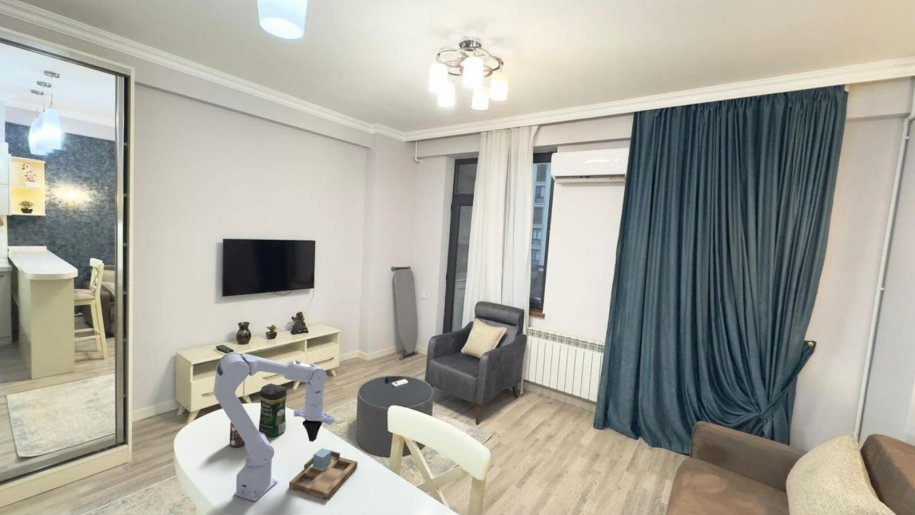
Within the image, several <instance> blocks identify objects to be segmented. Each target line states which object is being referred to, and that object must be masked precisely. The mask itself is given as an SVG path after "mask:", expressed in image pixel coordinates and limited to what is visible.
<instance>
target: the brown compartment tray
mask: <svg viewBox="0 0 915 515" xmlns="http://www.w3.org/2000/svg"><path fill="white" fill-rule="evenodd" d="M327 450H328V451H331V463H330V464H328V465H327V466H326V467H325V468H323V469H321V468H318V467H316V466H313V457H311V458H310V459H309V460H308V461H306V462H305V464H303V469H302V471H300V472H299V473H298V474H297V475H296V476H294V477H293V478H292V479H291V480H289V482H288V484H289V485H288V486H289V487H288V489H290V490H294V491H296V492H300V493H304V494H306V495H310V496H313V497H316V498H320V499H324V500H327V501H328V500H329V499H330V498H331V496H332V495H334V493H335V492H337V491H338V489H339V488H340V487H341V486H342V485H343V484H344V483H345V481H346V480H348V478H349V477H350V476H351V475H352V474H353V473H354V471H355V470H356V469H357V468H358V464H359V463H358V461H356V460H352V459H349V458H345V457H341V452H338V451H334V450H331V449H330V450H329V449H327ZM338 466H339V467H343V468H345V469H344V470H342V469H338V468H337V467H338ZM346 467H347V468H346ZM352 472H353V473H352ZM304 480H308V481H310V482H309V483H308V484H305V483H303V482H304Z"/></svg>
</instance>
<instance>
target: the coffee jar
mask: <svg viewBox="0 0 915 515" xmlns="http://www.w3.org/2000/svg"><path fill="white" fill-rule="evenodd" d="M287 390H288V389H287V387H285V386H282V385H278V384H275V383H271V382H270V383H268V384H266V385H263V386H261V388H260V392H259V400H260V412H259V414H260V415H259V422H258V431H259V432H261V433H263V434H265V436H266V437H270V438H271V437H276V436H277V437H278V436H279V435H281V434H283V433H284V432H285V431H286V429H287V426H286V425H287V423H286V422H287V420H286V418H287V417H286V401H287V397H288V392H287Z"/></svg>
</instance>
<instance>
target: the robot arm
mask: <svg viewBox="0 0 915 515" xmlns="http://www.w3.org/2000/svg"><path fill="white" fill-rule="evenodd" d="M258 372H262V373H263V372H264V373H270V374H277V375H283V377H284V379H285V380H290V381H295V382H300V383H305V397H304V399H305V401H304V409H303V408H297V409H294V411H293V417H300V418H303V419H304V420H303V421H302V426H303V427H304V428H305V431H306V434H307V437H308V441H309V442H311V443H312V442H315V441H316V440H317V436H318V435H319V434H318V433H319V431H320V429H321V426H322V424H323V423H324V424H325V423H326V424H327V425H328V426H331V425H332V424H334V423H335V416H332V415H330V414H328V413H326V412H325V411H324V394H325V393H324V391H325V383H326V382H327V380H328V375H327V372H326V371H325V370H324V369H323V368H322V367H321V366H320V365H318V364H316V363H313V362H311V363H303V362H302V361H301V360H299V359H295V361H294V360H289V361H287V363H284V362H280V361H276V360H272V359H268V358H264V357H260V356H256V355H253V354H249V353H243V352H242V353H241V354H240V353H239V352H236V351H231V352H228V353H226V354H224V355H223V356H222V357H221V358H220V359H219V361H218V363H217V365H216V366H215V380H214V385H213V391H212V392H213V395H214V397H215V399H216V400H217V402H218V404H219V405H220V407H221V408H222V410H223V411H224V413H225V414H226V416H227V417H228V419H229V421H230V423H231V422H232V424H233V425H234V427H235V428H236V430H237V431H238V433H239V435H240V436H241V438H242V439H243V441H244V442H245V445H244V449H245V451H246V453H248V454H247V455H246V459H245V463H244V465H243V467H242V468H241V470H239V471H238V473H237V474H236V484H235V488H236V489H235V492H233V496H237V497H240V498H242V499H246V500H249V501H252V502H256V501H257V500H259V498H261V497H262V496H263V495H264V494H266V493H267V492H268V491H269V490H270V489H272V488H273V486H275V485H276V484H277V483H278V480H277V479H273V478H272V466H273V465H272V460H273V457H274V455H275V449H274V447H273V446H272V445H271V443H270V441H269V440H268V438H267V436H266V435H265V434H263V433H261V432H259V428H257V426H256V425H255V423H254V422H253V420H252V419H251V417H250V415H249V413H248V412H247V410H246V409H245V407H244V405H243V403H242V402H241V400H240V398H238V396H237V394H236V391H237V389H238V388H239V386H240V385H242V383H243V382H244V381H245V380H246V379H247V377H248V376H250V377H254V375H255V374H257V373H258Z"/></svg>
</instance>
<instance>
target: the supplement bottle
mask: <svg viewBox="0 0 915 515" xmlns="http://www.w3.org/2000/svg"><path fill="white" fill-rule="evenodd" d="M229 424H230V425H229V426H230V427H229V445H230V447H233V448H240V447H243V446H245V442H244V441H243V439H242V438H241V436H240V435H239V433H238V431H237V430H236V428H235V427H234V425H233V424H232V422H231V421H230V423H229Z"/></svg>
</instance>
